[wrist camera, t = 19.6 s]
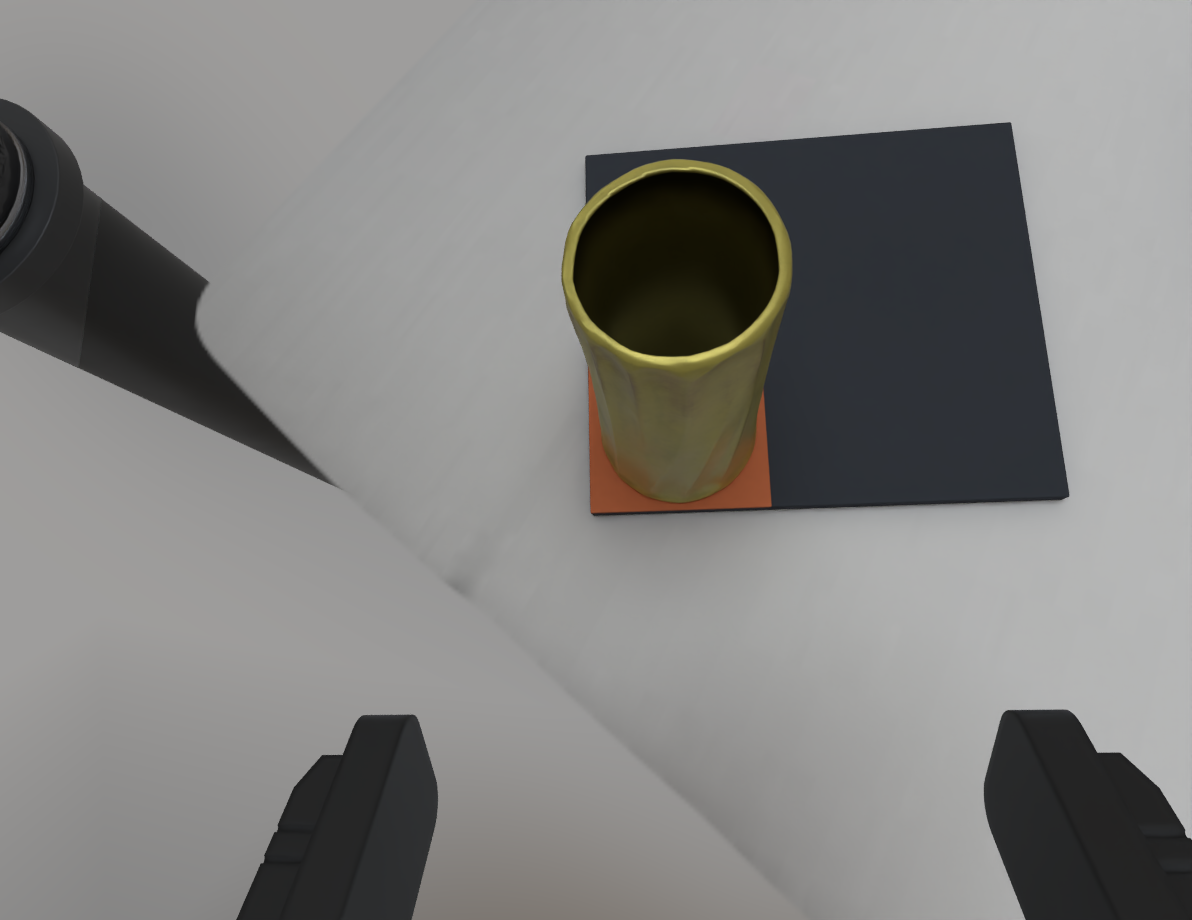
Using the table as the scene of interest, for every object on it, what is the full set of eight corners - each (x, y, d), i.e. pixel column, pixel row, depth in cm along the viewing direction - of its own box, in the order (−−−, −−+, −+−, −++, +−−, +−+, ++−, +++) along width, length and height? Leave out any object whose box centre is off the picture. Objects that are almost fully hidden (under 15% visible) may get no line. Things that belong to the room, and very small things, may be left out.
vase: (570, 438, 32) (486, 281, 18) (667, 326, 33) (658, 93, 19) (688, 535, 31) (695, 445, 17) (787, 416, 31) (872, 236, 18)
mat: (592, 516, 32) (590, 512, 31) (586, 162, 36) (584, 152, 35) (1063, 499, 30) (1072, 495, 30) (1005, 130, 34) (1013, 118, 33)
